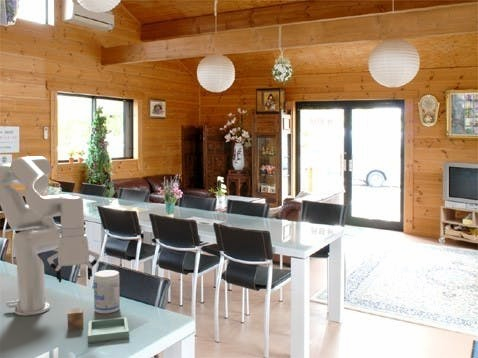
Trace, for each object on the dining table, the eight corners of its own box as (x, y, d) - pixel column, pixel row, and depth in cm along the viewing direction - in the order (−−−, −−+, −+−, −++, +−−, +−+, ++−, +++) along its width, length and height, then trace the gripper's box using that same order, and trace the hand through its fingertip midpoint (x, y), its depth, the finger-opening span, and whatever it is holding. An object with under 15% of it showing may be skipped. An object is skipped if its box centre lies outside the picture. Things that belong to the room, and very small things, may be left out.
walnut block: (67, 330, 165) (67, 313, 164) (68, 325, 170) (68, 308, 169) (83, 329, 166) (82, 312, 166) (83, 323, 171) (82, 307, 171)
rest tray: (88, 343, 154) (87, 335, 154) (88, 328, 167) (88, 320, 167) (128, 338, 158) (128, 331, 158) (126, 323, 171) (126, 316, 170)
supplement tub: (89, 312, 182) (88, 275, 181) (104, 304, 191) (103, 268, 189) (110, 315, 178) (109, 277, 177) (125, 307, 187) (124, 271, 186)
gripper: (45, 235, 159) (47, 285, 160) (98, 232, 164) (100, 280, 165) (47, 231, 166) (49, 279, 167) (98, 228, 171) (100, 274, 172)
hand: (74, 279), depth 166 cm, fingers open, 9 cm apart
